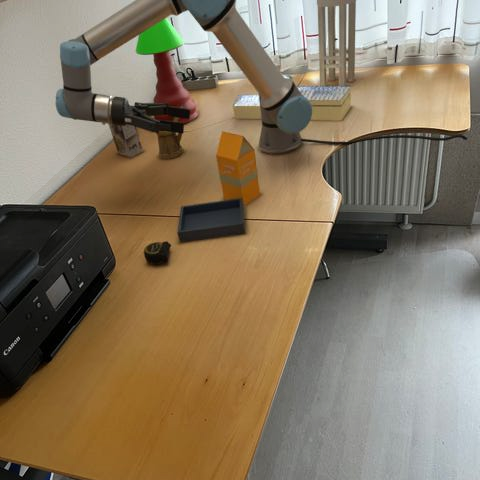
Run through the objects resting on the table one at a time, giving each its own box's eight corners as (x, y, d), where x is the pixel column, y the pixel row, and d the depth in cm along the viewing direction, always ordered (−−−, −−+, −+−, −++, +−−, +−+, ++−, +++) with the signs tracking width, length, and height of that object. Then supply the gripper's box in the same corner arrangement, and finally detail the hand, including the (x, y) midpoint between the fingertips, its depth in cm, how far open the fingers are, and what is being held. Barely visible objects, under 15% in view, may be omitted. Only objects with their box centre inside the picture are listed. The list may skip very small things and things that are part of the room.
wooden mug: (186, 160, 176) (175, 110, 164) (155, 158, 181) (142, 109, 169) (197, 149, 182) (187, 100, 170) (166, 148, 187) (154, 100, 175)
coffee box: (144, 151, 188) (131, 109, 177) (131, 158, 185) (118, 115, 174) (130, 147, 193) (117, 106, 182) (117, 153, 190) (103, 112, 179)
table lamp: (187, 127, 200) (159, 0, 170) (146, 127, 207) (112, 5, 176) (205, 109, 213) (183, -12, 183) (166, 110, 220) (138, -7, 189)
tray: (243, 207, 145) (242, 197, 143) (245, 233, 134) (243, 223, 132) (183, 215, 147) (180, 206, 144) (179, 242, 136) (177, 232, 134)
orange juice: (244, 205, 146) (234, 141, 132) (223, 198, 151) (211, 136, 137) (260, 194, 149) (252, 130, 136) (240, 188, 154) (230, 125, 141)
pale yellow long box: (351, 106, 192) (351, 78, 185) (340, 121, 182) (340, 92, 175) (248, 105, 209) (245, 80, 202) (234, 118, 200) (230, 92, 193)
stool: (346, 91, 205) (347, -7, 181) (313, 89, 212) (310, -5, 189) (360, 78, 213) (363, -16, 190) (328, 77, 221) (327, -14, 197)
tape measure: (169, 265, 128) (165, 254, 126) (144, 267, 129) (140, 256, 127) (172, 250, 133) (169, 239, 131) (148, 253, 134) (145, 241, 132)
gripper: (123, 111, 150) (191, 121, 150) (101, 137, 130) (180, 148, 131) (123, 85, 145) (193, 96, 146) (100, 108, 125) (181, 120, 126)
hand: (187, 120), depth 138 cm, fingers open, 13 cm apart
